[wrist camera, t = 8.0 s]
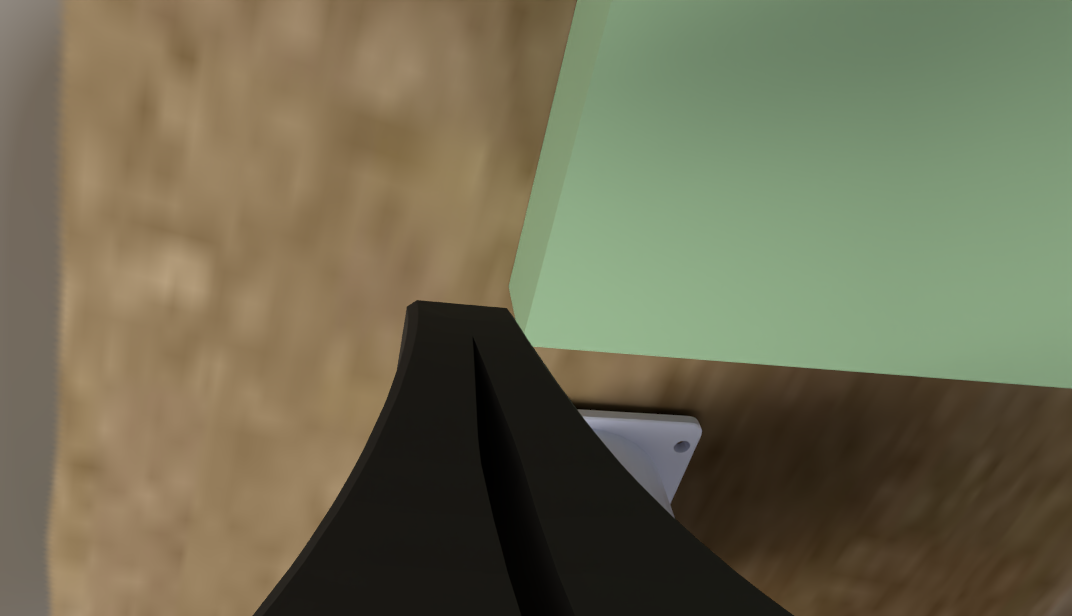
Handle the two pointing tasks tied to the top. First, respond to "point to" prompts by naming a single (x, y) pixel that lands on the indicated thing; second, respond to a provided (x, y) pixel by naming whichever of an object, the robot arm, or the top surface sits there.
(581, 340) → the putting mat
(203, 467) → the top surface
